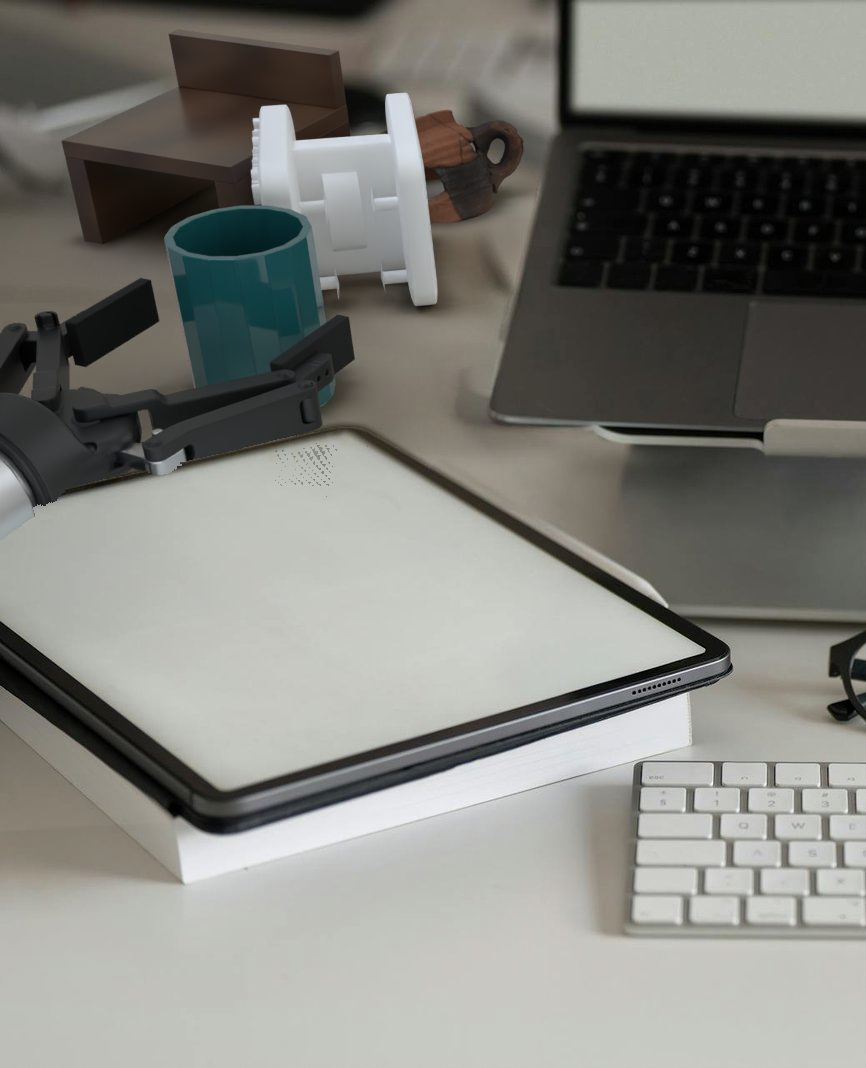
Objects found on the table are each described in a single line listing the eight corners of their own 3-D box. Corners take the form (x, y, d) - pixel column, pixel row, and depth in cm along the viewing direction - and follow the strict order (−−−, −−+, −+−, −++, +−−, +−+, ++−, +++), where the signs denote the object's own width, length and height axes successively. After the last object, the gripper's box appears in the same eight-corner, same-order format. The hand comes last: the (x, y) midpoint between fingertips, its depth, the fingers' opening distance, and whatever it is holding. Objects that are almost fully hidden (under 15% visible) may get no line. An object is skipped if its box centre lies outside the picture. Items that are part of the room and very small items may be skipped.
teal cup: (171, 419, 101) (134, 246, 95) (252, 362, 107) (222, 197, 101) (286, 443, 99) (255, 268, 93) (361, 384, 105) (337, 216, 99)
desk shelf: (85, 247, 122) (47, 83, 116) (206, 182, 133) (178, 29, 127) (249, 277, 118) (220, 108, 112) (360, 207, 129) (339, 50, 123)
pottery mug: (399, 247, 124) (351, 140, 123) (396, 255, 133) (350, 155, 132) (550, 185, 127) (504, 79, 125) (536, 197, 136) (493, 99, 134)
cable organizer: (443, 327, 112) (424, 157, 106) (277, 343, 110) (247, 171, 103) (427, 240, 124) (409, 83, 118) (277, 253, 122) (251, 94, 116)
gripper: (-193, 509, 88) (85, 340, 105) (209, 609, 81) (439, 412, 98) (-239, 380, 84) (58, 226, 101) (180, 474, 77) (425, 292, 94)
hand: (246, 317), depth 99 cm, fingers open, 13 cm apart
